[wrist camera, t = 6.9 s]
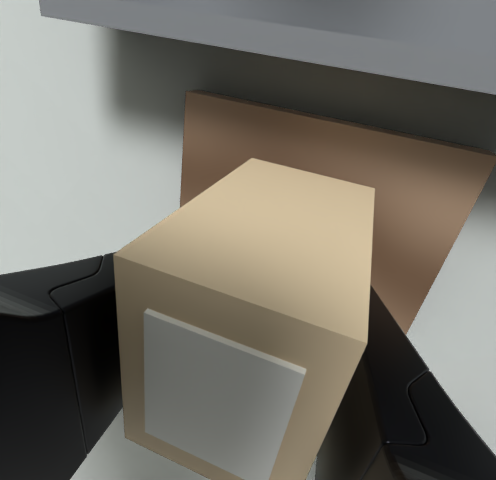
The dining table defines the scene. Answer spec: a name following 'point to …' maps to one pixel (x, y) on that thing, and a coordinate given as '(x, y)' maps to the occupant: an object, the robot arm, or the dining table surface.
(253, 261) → the carton tan
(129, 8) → the bin
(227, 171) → the board
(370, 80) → the dining table surface
